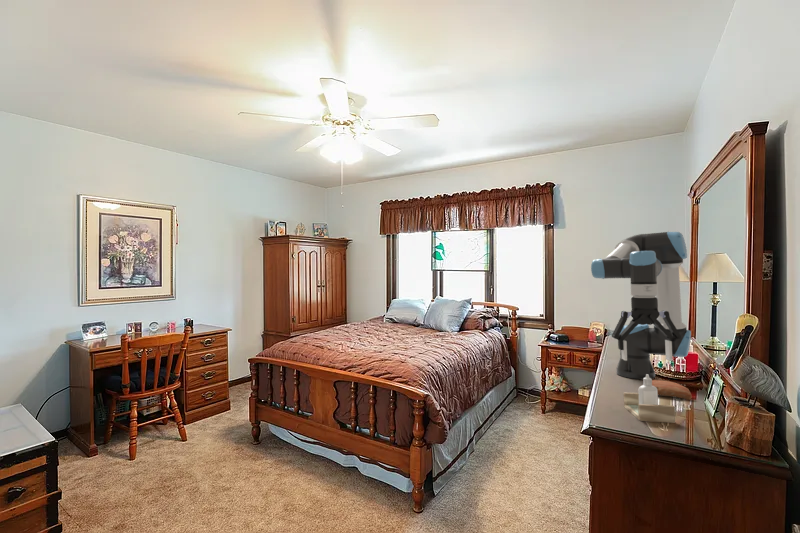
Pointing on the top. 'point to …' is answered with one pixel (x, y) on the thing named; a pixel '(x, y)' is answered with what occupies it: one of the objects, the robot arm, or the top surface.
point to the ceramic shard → (671, 389)
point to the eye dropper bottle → (648, 392)
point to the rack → (648, 409)
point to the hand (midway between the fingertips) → (646, 360)
